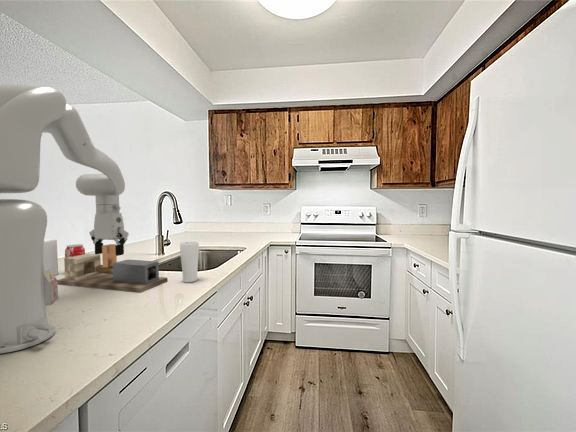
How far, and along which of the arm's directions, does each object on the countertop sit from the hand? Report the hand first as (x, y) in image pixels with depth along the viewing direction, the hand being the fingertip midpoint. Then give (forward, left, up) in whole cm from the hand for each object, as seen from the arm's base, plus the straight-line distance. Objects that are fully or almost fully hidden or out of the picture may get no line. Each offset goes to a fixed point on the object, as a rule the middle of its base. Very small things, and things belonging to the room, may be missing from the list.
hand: (109, 254), depth 110 cm
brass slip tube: (-6, 0, -8) cm, 10 cm away
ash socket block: (+13, 0, -9) cm, 16 cm away
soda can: (+27, -8, -11) cm, 30 cm away
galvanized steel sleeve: (-12, 0, -9) cm, 15 cm away
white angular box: (+1, +22, -11) cm, 25 cm away
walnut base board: (-1, 0, -11) cm, 11 cm away
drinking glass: (-28, -10, -11) cm, 32 cm away
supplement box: (+36, 0, -11) cm, 38 cm away
